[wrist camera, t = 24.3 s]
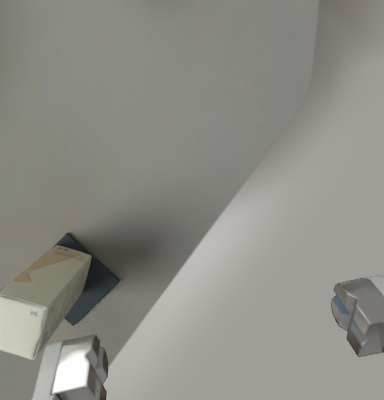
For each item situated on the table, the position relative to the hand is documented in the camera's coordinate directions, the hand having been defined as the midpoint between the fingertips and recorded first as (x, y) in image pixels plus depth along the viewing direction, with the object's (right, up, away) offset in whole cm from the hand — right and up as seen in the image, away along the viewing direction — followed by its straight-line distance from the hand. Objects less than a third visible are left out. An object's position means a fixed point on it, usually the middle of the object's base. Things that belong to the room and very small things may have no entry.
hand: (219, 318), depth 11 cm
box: (-15, -4, +25) cm, 30 cm away
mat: (-15, -5, +25) cm, 30 cm away
